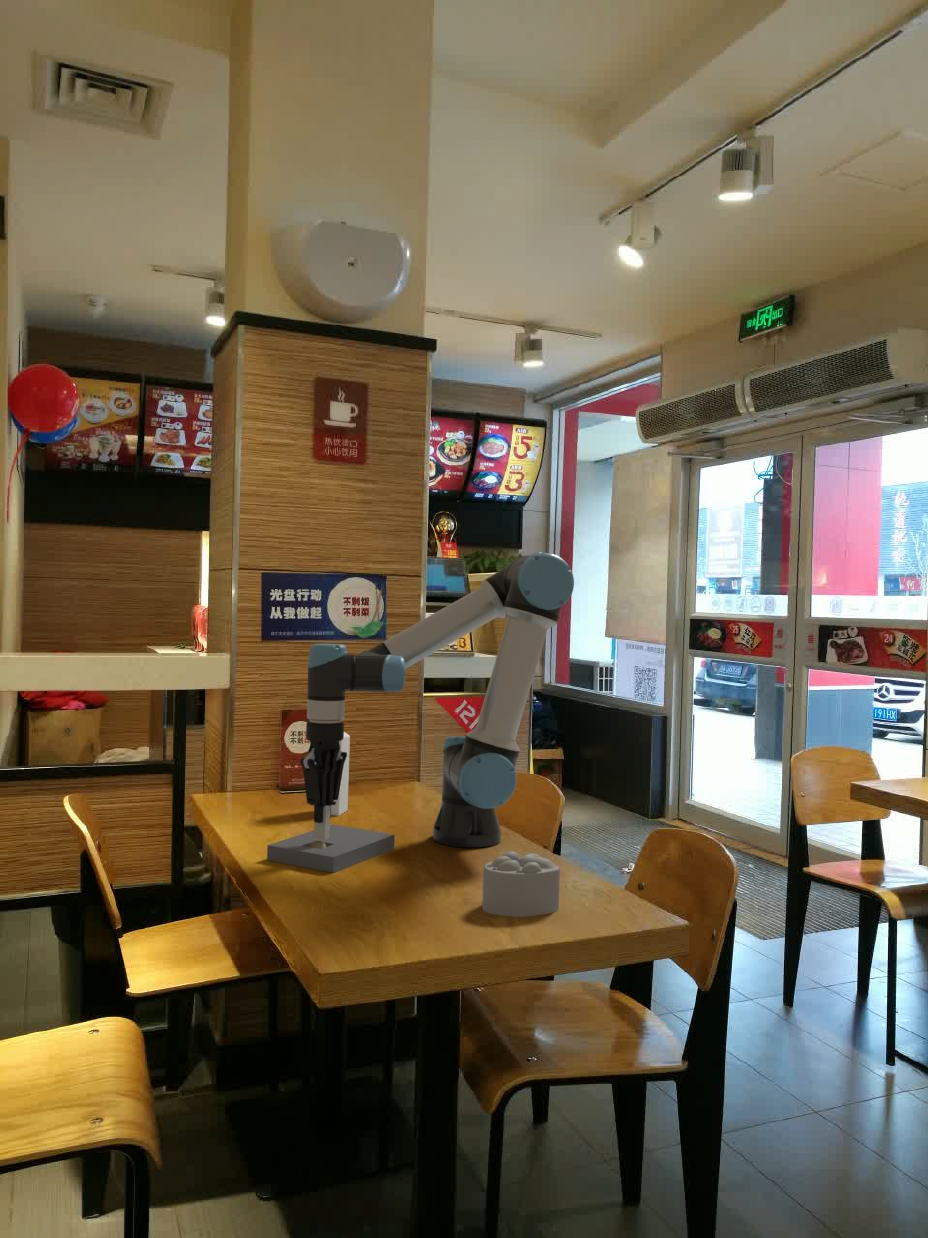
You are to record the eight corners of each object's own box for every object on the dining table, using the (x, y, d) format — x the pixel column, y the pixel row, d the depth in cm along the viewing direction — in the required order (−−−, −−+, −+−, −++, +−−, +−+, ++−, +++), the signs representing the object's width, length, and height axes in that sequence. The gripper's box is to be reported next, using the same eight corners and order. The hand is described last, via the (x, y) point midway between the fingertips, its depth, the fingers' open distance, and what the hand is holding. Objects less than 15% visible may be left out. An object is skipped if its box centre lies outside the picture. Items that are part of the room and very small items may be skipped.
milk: (315, 814, 228) (318, 724, 228) (325, 809, 234) (327, 721, 234) (339, 816, 227) (341, 725, 227) (348, 811, 233) (350, 722, 232)
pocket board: (394, 848, 197) (394, 834, 197) (333, 873, 178) (333, 857, 178) (332, 838, 205) (332, 824, 205) (266, 860, 185) (267, 845, 185)
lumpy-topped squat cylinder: (565, 911, 160) (567, 861, 160) (499, 921, 154) (501, 868, 154) (534, 894, 169) (535, 846, 169) (470, 902, 163) (472, 853, 163)
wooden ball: (329, 858, 188) (331, 841, 188) (319, 862, 185) (321, 844, 185) (314, 855, 190) (316, 837, 190) (304, 859, 187) (306, 841, 187)
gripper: (329, 716, 195) (325, 829, 195) (290, 722, 184) (286, 841, 184) (359, 719, 192) (355, 834, 192) (321, 725, 180) (317, 847, 180)
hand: (321, 837), depth 188 cm, fingers closed
